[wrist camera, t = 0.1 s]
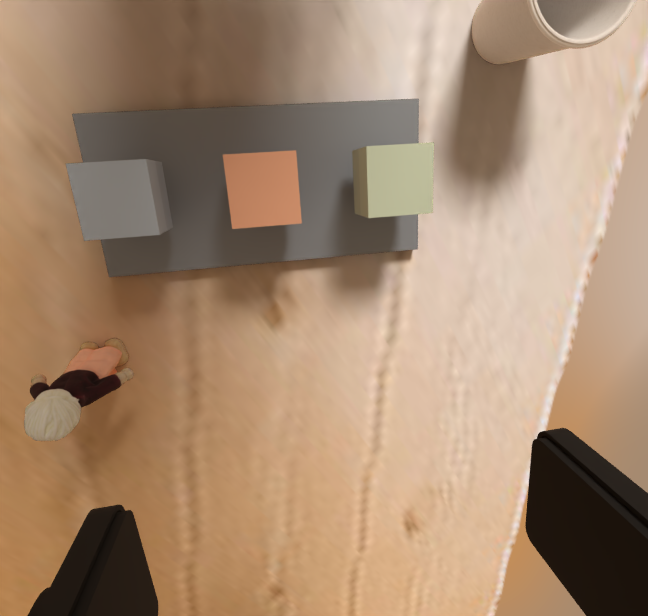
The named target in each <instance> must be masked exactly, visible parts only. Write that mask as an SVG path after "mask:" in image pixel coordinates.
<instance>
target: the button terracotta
mask: <svg viewBox="0 0 648 616" xmlns="http://www.w3.org/2000/svg"><path fill="white" fill-rule="evenodd" d="M223 161H224V169H225V176H226V184H227V192H228V200H229V207H230V215H231V223H232V229H239V228H251V227H264V226H276V225H289V224H301V223H302V219H301V207H300V194H299V181H298V168H297V156H296V150H293V151H276V152H258V153H241V154H224V155H223Z"/></svg>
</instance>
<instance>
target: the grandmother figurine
mask: <svg viewBox="0 0 648 616" xmlns="http://www.w3.org/2000/svg"><path fill="white" fill-rule="evenodd" d="M127 361H128V353H127V351H126V349H125V347H124V345H123V343H122V342H121V341H120V340H119V339H110V340H107V341H106V342H105V347H102V348H99V347H98V345H96V344H95V343H92V342H85V343H83V344H82V345H81V347H80V351H79V352H78V354H77V355H76V356H75V357H74V358H73V359H72V360H71V361H70V363H69V364H68V366H67V368H66V370H65V372H64V373H63V375H61V376H60V377H59V378H58V379H57V380H55V381H54V382H53V383H52V384H51V386H50V387H49V386H48V385H47V383H46V377H45V376H44V375H41V374H38V375H35V376H34V377H33V378H32V380H31V388H30V394H31V395H32V397H33V398H34V400H35V401H33V402H31V403H30V404H29V405H28V406H27V407H26V409H25V420H24V427H25V431H26V434H27V435H28V436H30V437H32V438H33V439H34V440H36V441H53V440H55V441H57V440H59V439H61V438H64V437H65V436H66V435H68V434H69V433H70V432H71V431H72V430H73V429H74V428H75V427H76V425H77V424H78V423H79V420H80V415H81V407H84V406H86V405H89V404H91V403H93V402H94V401H96V400H97V399H99V398H101V397H103V396H104V395H106V394H108V393H110V392H111V391H114V390H116V389H117V388H119V387H120V386H121V385H122V384H124V383H125V382H126V381H128V380H130V379H132V378H133V375H134V373H133V371H132V370H131V369H130V368H125V369H123V370H121V372H118V373H117V370H116V369H115V367H116V366H121V365H123V364H125V363H126V362H127Z"/></svg>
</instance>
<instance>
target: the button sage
mask: <svg viewBox="0 0 648 616" xmlns="http://www.w3.org/2000/svg"><path fill="white" fill-rule="evenodd" d="M352 158H353V183H354V208H355V214H358V215H361V216H364V217H367V218H376V217H389V216H401V215H414V214H426V213H433V161H434V142H431V143H414V144H397V145H380V146H366V147H363V148H359V149H356V150H353V151H352Z"/></svg>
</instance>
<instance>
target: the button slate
mask: <svg viewBox="0 0 648 616" xmlns="http://www.w3.org/2000/svg"><path fill="white" fill-rule="evenodd" d="M66 167H67V171H68V176H69V180H70V184H71V188H72V192H73V196H74V201H75V205H76V209H77V213H78V217H79V221H80V226H81V230H82V234H83V238H84V241H89V240H101V239H114V238H126V237H139V236H151V235H160V234H162V233H164V232H166V231H168V230H170V229H171V228H173V224H172V218H171V213H170V207H169V201H168V195H167V189H166V184H165V178H164V172H163V166H162V162H159V161H154V160H148V159H137V160H120V161H103V162H85V163H68V164H66Z"/></svg>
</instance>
